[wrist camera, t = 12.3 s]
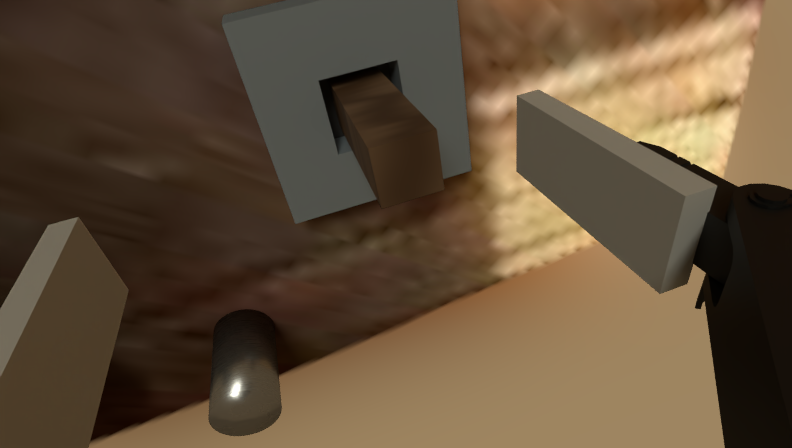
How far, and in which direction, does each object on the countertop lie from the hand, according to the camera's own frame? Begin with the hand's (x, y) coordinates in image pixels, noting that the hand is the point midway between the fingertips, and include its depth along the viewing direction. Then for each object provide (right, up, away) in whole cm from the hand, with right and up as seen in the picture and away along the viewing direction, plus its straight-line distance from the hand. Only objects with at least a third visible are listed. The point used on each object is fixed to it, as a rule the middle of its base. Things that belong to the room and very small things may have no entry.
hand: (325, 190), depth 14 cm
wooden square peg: (-1, +9, +24) cm, 26 cm away
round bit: (-14, -12, +34) cm, 38 cm away
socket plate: (-1, +10, +24) cm, 26 cm away
